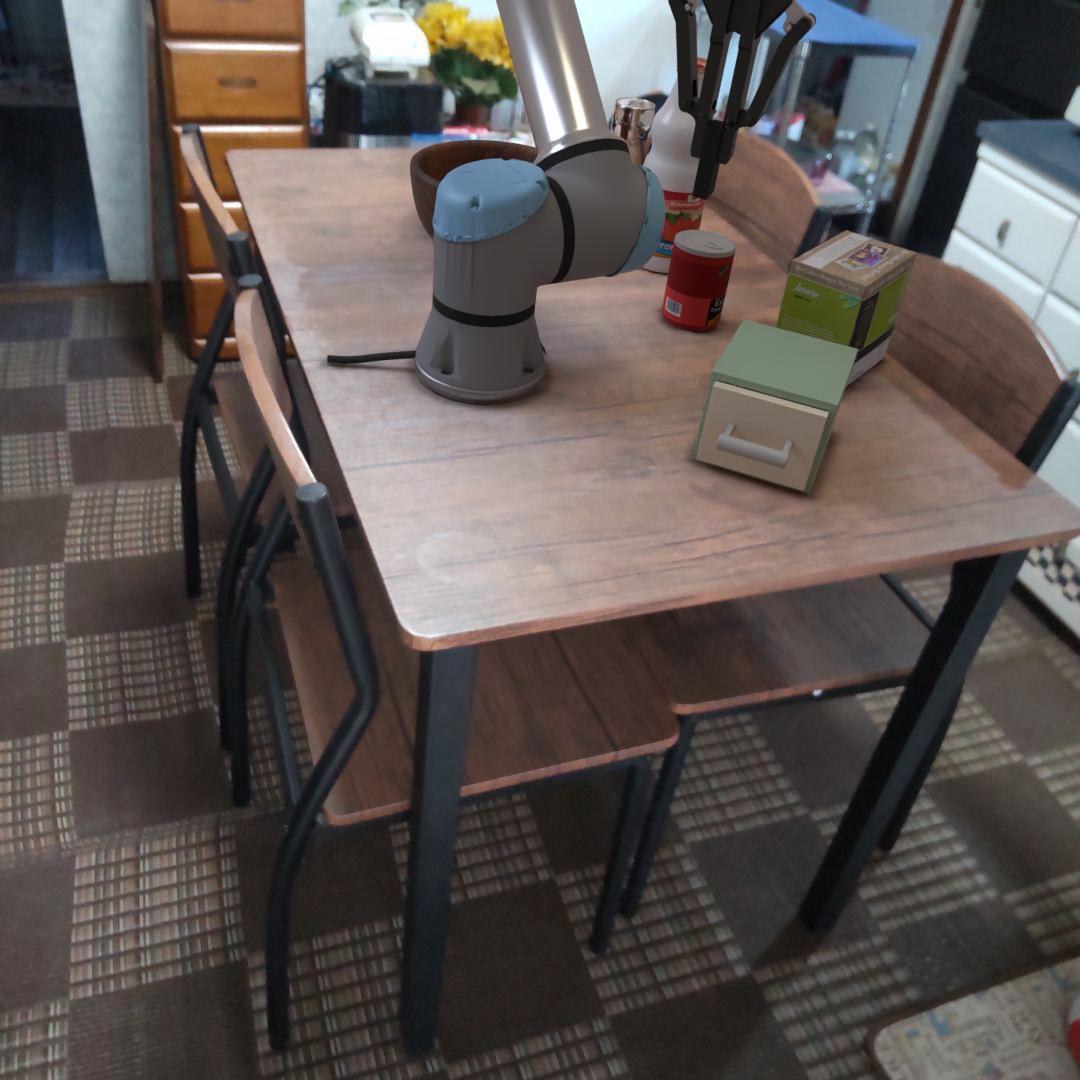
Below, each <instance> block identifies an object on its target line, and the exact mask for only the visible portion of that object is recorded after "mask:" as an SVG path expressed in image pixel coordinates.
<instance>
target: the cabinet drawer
mask: <svg viewBox="0 0 1080 1080" xmlns="http://www.w3.org/2000/svg"><path fill="white" fill-rule="evenodd" d="M828 415H829V412H827V411H825V410H823V409H820V408H816V407H813V406H809V405H805V404H802V403H798V402H794V401H791V400H787V399H784V398H780V397H776V396H773V395H769V394H766V393H762V392H758V391H755V390H751V389H748V388H744V387H740V386H737V385H733V384H730V383H722V382H719V381H716V382H715V383H714V385H713V388H712V392H711V397H710V401H709V405H708V410H707V414H706V418H705V423H704V427H703V432H702V436H701V440H700V445H699V449H698V453H697V458H696V459H698V460H701V461H705V462H708V463H711V464H715V465H718V466H721V467H725V468H728V469H731V470H735V471H738V472H741V473H745V474H748V475H751V476H755V477H758V478H761V479H765V480H768V481H771V482H775V483H778V484H781V485H785V486H788V487H791V488H795V489H798V490H801V491H804V490H805V487H806V484H807V481H808V478H809V474H810V471H811V468H812V465H813V462H814V459H815V456H816V452H817V449H818V446H819V443H820V440H821V437H822V434H823V430H824V427H825V424H826V421H827V418H828Z"/></svg>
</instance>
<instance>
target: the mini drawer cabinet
mask: <svg viewBox="0 0 1080 1080" xmlns="http://www.w3.org/2000/svg"><path fill="white" fill-rule="evenodd" d="M857 352H858V349H856V348H852V347H848V346H845V345H841V344H837V343H833V342H829V341H825V340H821V339H818V338H814V337H810V336H806V335H802V334H798V333H795V332H791V331H787V330H783V329H779V328H776V326H772V325H767V324H763V323H759V322H756V321H751V320H748V319H745V318H744V319H742V321H741V323H740V324H739V326H738V328H737V330H736V331H735V332H734V334H733V337H731V339H730V340H729V342H728V344H727V346H726V348H725V349H724V351H723V353H722V354H721V355H720V357H719V359H718V361H716V364H715V366H714V367H713V369H712V370H711V374H710V379H709V383H708V389H707V393H706V396H705V401H704V405H703V410H702V414H701V418H700V423H699V428H698V432H697V436H696V441H695V445H694V450H693V454H692V459H691V460H692V461H696V462H699V463H703V464H705V465H710V466H713V467H715V468H716V467H717V468H719V469H722V470H727V471H729V472H733V473H737V474H739V475H743V476H746V477H750V478H753V479H756V480H759V481H762V482H767V483H770V484H773V485H776V486H779V487H783V488H787V489H788V490H789V489H790V490H793V491H797V492H800V493H803V494H807V495H810V494H811V491H812V488H813V486H814V483H815V480H816V477H817V474H818V472H819V469H820V466H821V463H822V460H823V458H824V455H825V452H826V449H827V446H828V443H829V440H830V438H831V435H832V432H833V429H834V426H835V423H836V421H837V420H836V419H837V417H838V414H839V410H840V407H841V404H842V401H843V398H844V395H845V392H846V389H847V387H848V386H847V383H848V380H849V377H850V374H851V371H852V367H853V364H854V361H855V358H856V355H857ZM716 381H719V382H722V383H730V384H733V385H737V386H740V387H744V388H748V389H751V390H755V391H758V392H762V393H766V394H769V395H773V396H776V397H780V398H784V399H787V400H791V401H794V402H798V403H802V404H805V405H809V406H813V407H816V408H820V409H823V410H825V411H827V412H829V415H828V418H827V421H826V424H825V427H824V430H823V434H822V437H821V440H820V443H819V446H818V449H817V452H816V456H815V459H814V462H813V465H812V468H811V471H810V474H809V478H808V481H807V484H806V487H805V490H804V491H801V490H798V489H795V488H791V487H788V486H785V485H781V484H778V483H775V482H771V481H768V480H765V479H761V478H758V477H755V476H751V475H748V474H745V473H741V472H738V471H735V470H731V469H728V468H725V467H721V466H718V465H715V464H711V463H708V462H705V461H701V460H698V459H696V458H697V453H698V449H699V445H700V440H701V436H702V432H703V427H704V423H705V418H706V414H707V410H708V405H709V401H710V397H711V392H712V388H713V385H714V383H715V382H716Z"/></svg>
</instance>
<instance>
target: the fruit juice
mask: <svg viewBox="0 0 1080 1080" xmlns="http://www.w3.org/2000/svg"><path fill="white" fill-rule="evenodd" d="M697 62H698V98H699V97H700V92H701V87H702V82H703V77H704V72H705V67H706V62H707V58H703V57H700V56H697ZM713 119H716V117H715V114H714V115H713ZM694 129H695V120H694V118H693V117H692V116H691V115H690V114H688V113H687V112H682V111H681V110H680V109H679V106H678V78H677V77H676V79H675V82H674V84H673V86H672V88H671V90H670V93H669V94H668V97H667V99H666V100H665V101H664V103H663V105H662V106H661V107H660V108H659V109H658V110H657V112H655V115H654V119H653V122H652V127H651V138H652V139H651V148H650V149H649V150H650V151H648V153H647V156H646V159H645V162H644V165H643V166H644V167H647V168H649V169H650V170H651V172H653V173H655V174H656V176H657V177H658V179H659V181H660V183H661V186H662V189H663V193H664V199H665V223H664V229H663V233H662V234H661V238H660V243H659V245H658V248H657V250H656V251H655V253H654V255H653V256H652V258H651V259H650V260H649V261H648V262H647V263H646V264H645V265H644V266H643V267H641V268H642V269H644V270H647V271H651V272H655V273H662V274H668V272H669V266H670V261H671V255H672V249H673V245H674V239H675V237H676V234H677V233H679V232H681V231H686V230H700V228H701V223H702V219H703V212H704V209H705V202H706V200H704V199H701V198H697V197H693V196H692V193H693V188H694V183H695V178H696V173H697V168H698V163H699V158H695V157H691V153H690V149H691V145H692V139H693V134H694Z"/></svg>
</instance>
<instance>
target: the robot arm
mask: <svg viewBox="0 0 1080 1080" xmlns="http://www.w3.org/2000/svg"><path fill="white" fill-rule="evenodd" d="M701 1H702V3H703V6H704V8H705V11H706V14H707V16H708V19H709V21H710V23H711V25H712V26H711V31H710V35H709V46H708V47H709V48H708V52H707V58H706V59H707V62H706V67H705V72H704V77H703V82H702V87H701V92H700V97H699V98H698V62H697V57H698V29H697V28H698V27H697V14H696V12H697V11H698V9H699V7H700V0H667V3H668V6H669V9H670V11H671V14H672V16H673V19H674V22H675V44H676V45H675V46H676V47H675V49H676V73H677V74H676V75H677V77H676V79H677V78H678V106H679V109H680V110H681V111H682V112H687V113H688V114H690V115H691V116H692V117H693V118H694V120H695V129H694V134H693V139H692V145H691V149H690V153H691V157H695V158H699V163H698V168H697V173H696V178H695V183H694V188H693V193H692V196H693V197H697V198H701V199H704V200H705V201H707V200H708V199H709V198H710V197H711V196H712V195H713V193H714V192H715V189H716V186H717V185H716V184H717V180H718V175H719V171H720V166H721V165H725V166H726V165H728V163H729V162H730V161H731V160H732V158H733V156H734V152H735V148H736V145H737V139H738V134H739V130H740V129H742V128H753V127H754V126H756V125H757V124H758V122H760V120H761V119H762V118H763V116H764V114H765V112H766V110H767V109H768V106H769V104H770V102H771V100H772V98H773V96H774V94H775V92H776V89H777V87H778V86H779V83H780V81H781V79H782V78H783V75H784V73H785V71H786V69H787V68H788V65H789V63H790V61H791V58H792V57H793V55H794V53H795V50H796V48H797V47H798V44H799V42H800V41H801V40H802V39H803V38H804V37H805V36H806V35H807V34H808V33H809V32H810V31H811V30H812V29H813V28H814V26H815V25H816V23H817V16H816V15H815V14H814V13H812V12H807V10H805V8H803V6H802V4H800V3H799V2H798V1H797V0H701ZM495 2H496V7H497V10H498V13H499V18H500V21H501V24H502V28H503V29H502V30H503V32H504V36H505V39H506V44H507V47H508V50H509V54H510V57H511V58H510V59H511V61H512V65H513V69H514V72H515V76H516V80H517V84H518V87H519V91H520V95H521V99H522V103H523V105H524V109H525V113H526V117H527V120H528V124H529V128H530V132H531V135H532V139H533V142H534V145H535V146H534V147H536V150H537V154H538V155H537V158H536V159H535V161H534V163H533V164H532V163H529V162H526V161H521V160H516V159H511V160H507V161H504V160H503V159H500V158H499V159H486V160H479V161H475V162H471V163H467V164H464V165H462V166H459V167H457V168H455V169H454V170H452V171H451V172H449V173H448V174H447V175H446V176H445V177H444V179H443V180H442V181H441V183H440V184H439V187H438V190H437V196H436V204H435V212H434V216H433V227H434V239H433V253H432V254H433V255H432V258H433V259H432V301H431V308H430V312H429V314H428V316H427V319H426V321H425V325H424V327H423V329H422V332H421V335H420V338H419V340H418V343H417V345H416V348H415V350H402V351H401V350H400V351H399V350H398V351H388V352H387V351H386V352H377V353H369V354H368V353H367V354H361V355H335V354H334V355H333V354H327V355H326V362H327V364H340V365H356V364H365V363H373V362H384V361H395V360H396V361H397V360H409V359H410V360H411V359H414V372H415V375H416V377H417V379H418V380H419V381H420V383H421V384H422V385H423V386H425V387H426V388H427V389H428V390H431V391H432V392H434V393H436V394H438V395H440V396H443V397H445V398H448V399H452V400H455V401H460V402H465V403H471V404H483V405H484V404H487V405H488V404H503V403H508V402H513V401H514V402H515V401H518V400H520V399H523V398H525V397H528V396H529V395H531V394H533V393H534V392H535V391H537V390H538V389H539V388H540V387H541V385H542V384H543V382H544V378H545V371H546V370H545V369H546V361H545V357H546V358H547V357H548V356H547V352H546V348H545V346H544V344H543V342H542V341H541V338H540V332H539V328H538V325H537V321H536V315H535V312H536V302H537V293H538V288H539V287H542V286H548V285H554V284H561V283H568V282H575V281H582V280H583V281H584V280H590V279H595V278H596V279H597V278H602V277H604V278H614V277H616V276H618V275H620V274H625V273H629V272H630V273H631V272H634V271H637V270H640V269H641V268H642V267H643V266H644V265H645V264H646V263H647V262H648V261H649V260H650V259H651V258H652V256H653V255H654V253H655V251H656V250H657V248H658V245H659V243H660V238H661V234H662V233H663V229H664V223H665V199H664V193H663V189H662V186H661V183H660V181H659V179H658V177H657V176H656V174H655V173H653V172H651V170H650V169H649V168H647V167H644V166H645V165H643V166H642V165H633V163H632V159H631V156H630V152H629V149H628V145H627V142H626V141H625V139H623V138H621V137H619V136H617V135H616V134H614V133H612V132H610V130H611V129H610V127H609V124H608V123H609V122H608V120H607V116H606V112H605V109H604V105H603V100H602V98H601V94H600V89H599V86H598V83H597V79H596V75H595V72H594V67H593V64H592V60H591V56H590V53H589V49H588V46H587V42H586V38H585V34H584V30H583V27H582V23H581V20H580V16H579V11H578V8H577V5H576V1H575V0H495ZM784 13H785V15H786V17H785V20H784V22H783V25H782V30H783V32H784V33H785V34H784V36H783V38H782V39H781V41H780V42H779V44H778V46H777V48H776V50H775V52H774V54H773V56H772V58H771V61H770V62H769V64H768V67H767V69H766V71H765V73H764V75H763V77H762V79H761V81H760V84H759V86H758V88H757V90H756V92H755V94H754V96H753V98H752V99H751V103H750V105H749V107H748V108H746V109H745V107H746V103H747V99H748V93H749V89H750V84H751V80H752V76H753V71H754V67H755V63H756V58H757V53H758V49H759V46H760V43H761V39H762V35H763V33H765V32H766V31H767V30H768V29H769V28H770V27H771V26H772V25H773V24H774V23H775V22H776V21H777V20H778V19H779V18H781V16H782V15H783V14H784ZM734 33H736V34H737V35H739V39H738V43H737V49H738V50H737V53H736V59H735V63H734V68H733V73H732V78H731V82H730V87H729V93H728V97H727V101H726V107H725V111H724V116H723V120H719V119H716V118H715V119H713V115H714V116H715V115H716V114H717V112H718V109H717V106H718V101H719V96H720V92H721V91H720V90H721V87H722V82H723V77H724V73H725V67H726V64H727V59H728V58H727V57H728V54H729V53H728V52H729V48H730V43H731V40H732V37H733V34H734Z"/></svg>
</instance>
